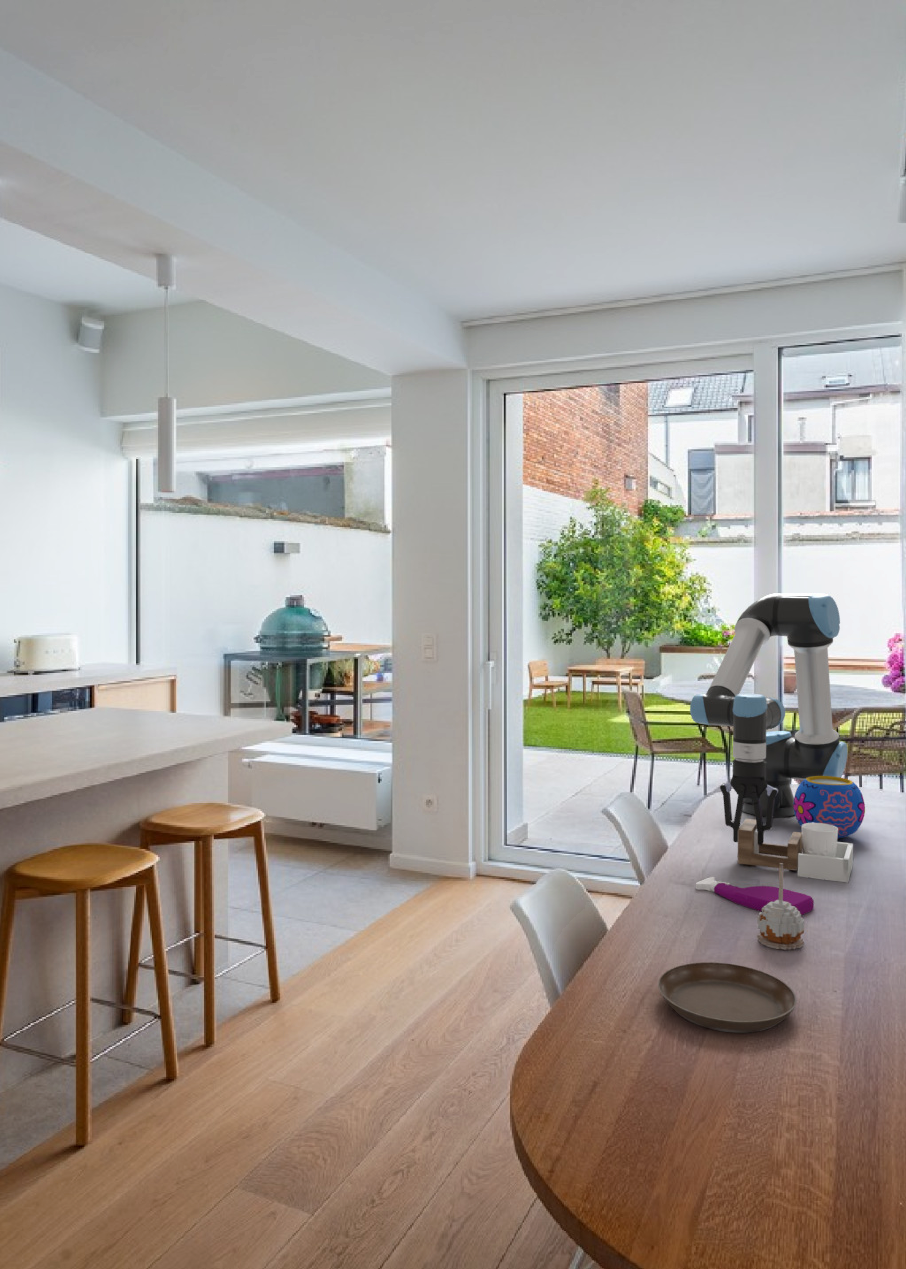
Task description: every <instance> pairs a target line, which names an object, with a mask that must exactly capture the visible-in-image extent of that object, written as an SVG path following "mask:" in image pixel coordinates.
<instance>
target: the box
mask: <svg viewBox="0 0 906 1269" xmlns="http://www.w3.org/2000/svg"><path fill="white" fill-rule="evenodd" d="M853 861H854V843H851V842H841V841H837V851H836V858H835V857H827V856H818V855H809V854H801V853H799V854H798V868H797V877H801V878H808V877H811V878H810V879H819V880H824V879H825V880H824V881H833V882H843V883H849V881H850V876H851V874H852V868H853V865H854V862H853Z"/></svg>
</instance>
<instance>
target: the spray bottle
mask: <svg viewBox="0 0 906 1269" xmlns="http://www.w3.org/2000/svg"><path fill="white" fill-rule="evenodd" d="M695 888H696V890H699V891H700V890H701V891H702V890H703V891H704V890H705V891H708V892H713V893H715V894H717V895H719V896H721V897H722V898H724V899H727V900H728V901H732V902H733V903H735V904H737V905H739V906H743V907H745V908H748V909H751V908H752V910H754V909H756V910H755V911H758V910H759V912H761V911H762V908H763V907H764V906H766V905H767V904H768V903H770V902H775V901H776V900H779V887H777V886H772V885H771V886H770V885H769V886H768V885H756V886H747V887H739V886H737V885H736V886H734V885H732V884H731V883H730V882H724V881H717V880H716V877H715V876H711V877H707V878H705V879H701V880H699V881H697V882H695ZM783 901H785V902H789V903H790V904H791V906H795V908H797V910H798V911H800V914H801V916H803V915H805V914H807V913H811V912H812V910H814V908H815V906H814V904H815V902H814V898H813V897H812V896H811V895H808V894H806V893H802V892H797V891H794V890H790V889H786V888H783Z"/></svg>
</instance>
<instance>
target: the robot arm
mask: <svg viewBox="0 0 906 1269" xmlns="http://www.w3.org/2000/svg"><path fill="white" fill-rule="evenodd" d="M840 624H841V618H840V612H839V608H838V605H837V602H836V600H835V599H834V598H833V597H832V596H831V595H829V594H825V593H816V592H813V593H812V592H811V593H771V594H768V595H765V596H762V597H761V598H758V599H757V600H756V601H754V602H753V603H752V604H750V605H749V606H748V607H746V609H745V610H744V611H743V612H742V613H741V615H740V616H739V618H738V619H737V621H736V623H735V625H734V633H735V634H734V636H733V638H732V640H731V642H730V644H729V646H728V648H727V650H726V653H725V655H724V656H723V658H722V661H721V663H720V665H719V667H718V669H717V671H716V673H715V676H714V677H713V680H711V681H712V682H711V683H710V686H709V688H708V689H707V691H706V692H705V693H699V694H695V695H693V697H692V698H691V701H690V704H689V705H690V706H689V712H690V716H691V719H692V720H693V722H695V723H698V724H700V725H701V724H702V725H708V726H722V727H732V730H733V731H732V732H733V734H732V736H733V737H732V739H733V740H732V757H733V758H734V759H733V760H732V778H731V779H730V781H729V782H726V783H722V784H721V785H720V786H719V789H720V791H721V794H722V798H723V799H722V800H723V809H724V823H725V824H724V825H725V826H726V827H730V828H732V830H733V831H732V832H733V833H732V838H733V839H732V841H733V842H734V843H738V829H739V828H740V826H741V822H742V815H743V812H744V813H746V814H750V815H752V816H753V815H754V817H755V820H756V824H757V829H756V830H755V831H754V853H755V854H759V845H762V844H763V843H765V842H764V841H765V840H764V839H765V838H764V837H765V836H764V835H765V831H769V830H771V828H772V827H773V819H774V818H786V817H792V816H795V813H794V807H793V803H794V797H795V795H794V794H793V791H792V790H793V789H792V787H791V779H793V780H794V779H795V780H802V781H803V780H804V779H806V778H808V777H812V776H833V777H841V778H843V777H842V776H843V774H844V771H845V769H846V765H847V760H848V746H847V743H846V742H843V740H842V741H841V740H840V733H839V732H837V730H835V729H834V727H833V714H832V696H831V684H830V683H831V682H830V666H829V650H828V648H829V647H830V646H831V645H832V644H833V642H834V638H835V637H837V636H839V633H840V629H841V628H840ZM775 636H778V637H786V638H787V645H788V646H789V647H790V648H792V649H793V651H794V654H793V655H794V667H795V668H794V669H795V680H796V694H797V697H796V698H797V709H798V723H799V724H798V725H799V729H798V730H797V732H795V734H794V737H792V733H791V731H785V730H778V731H777V730H776V731H775V730H774V731H768V730H771V729H775V728H777V726H779V725H780V724H782V723H783V722H784V720H785V718H786V717H785V716H786V709H785V706H784V705H783V703H782V702H781V701H780V700H778V699H777V698H775V697H770V696H769V697H767V696H765V695H763V694H760V693H741V691H742V689H743V687H744V685H745V682H746V680H747V678H748V675H749V673H750V671H751V669H752V667H753V665H754V662H755V661H756V659H757V657H758V654H759V653H760V650H761V649H762V646H763V645H766V644H767V643H768V641H769V640H770V638H771V637H775ZM732 788H733V790H734V792H735V793H736V795H737V802H736V807H735V812H734V813H735V814H734V819H733V813H732V803H731V791H732ZM763 817H766V818H765V823H764V818H763Z"/></svg>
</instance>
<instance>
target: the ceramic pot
mask: <svg viewBox="0 0 906 1269" xmlns="http://www.w3.org/2000/svg"><path fill="white" fill-rule="evenodd" d="M865 805H866V804H865V800H864V796H863V794H862V791H861V789H860V788H859V786H858V785H857V784H856V783H855V782H854V781H853V780H851V779H848V778H845V777H833V776H812V777H808V778H806V779H804V780H802V781H801V782H800V783H799V784H798V786H797V788H796V790H795V794H794V803H793V807H794V813H795V815H794V817H795V819H796V821H797V823H798V825H799V826H800V827H801V825H803V824H806V823H823V824H829V825H833V826H835V827H837V828H838V837H837V840H838V839H843V838H845V837H849V836H851V835H853V834H855V833H856V832H857V831H858V830H859V828H860V827H861V825H862V823H863V821H864V819H865V818H864V817H865V814H866V806H865Z"/></svg>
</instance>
